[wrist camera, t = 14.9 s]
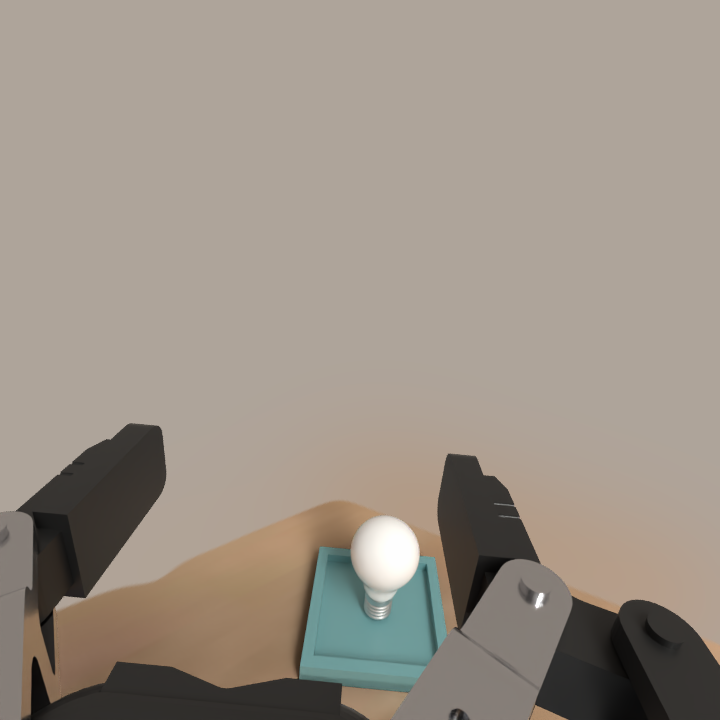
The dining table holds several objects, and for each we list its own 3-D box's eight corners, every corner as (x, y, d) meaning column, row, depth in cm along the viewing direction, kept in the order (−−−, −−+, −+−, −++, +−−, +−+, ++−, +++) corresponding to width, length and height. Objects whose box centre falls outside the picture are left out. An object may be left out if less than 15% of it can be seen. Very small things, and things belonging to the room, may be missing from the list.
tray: (299, 681, 36) (299, 666, 35) (319, 559, 48) (319, 546, 47) (450, 696, 36) (454, 681, 35) (432, 570, 48) (434, 557, 47)
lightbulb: (331, 613, 41) (338, 524, 37) (371, 574, 46) (381, 491, 42) (383, 658, 37) (397, 566, 33) (421, 611, 42) (437, 524, 38)
